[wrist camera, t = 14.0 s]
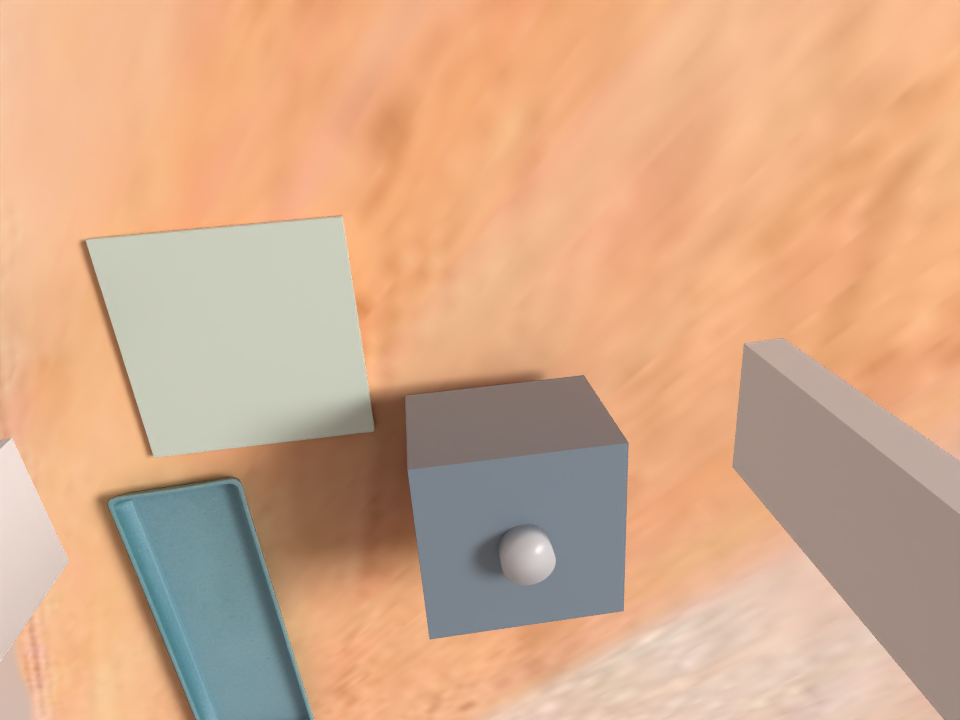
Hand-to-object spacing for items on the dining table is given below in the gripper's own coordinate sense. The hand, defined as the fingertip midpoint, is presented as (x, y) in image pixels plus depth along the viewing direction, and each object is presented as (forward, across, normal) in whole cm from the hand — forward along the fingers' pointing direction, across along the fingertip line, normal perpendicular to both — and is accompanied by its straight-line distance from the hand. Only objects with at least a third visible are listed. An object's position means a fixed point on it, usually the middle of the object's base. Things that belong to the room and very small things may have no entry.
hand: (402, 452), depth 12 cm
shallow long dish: (+30, -18, -31) cm, 47 cm away
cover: (+27, +4, -19) cm, 33 cm away
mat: (+30, -12, -9) cm, 33 cm away
